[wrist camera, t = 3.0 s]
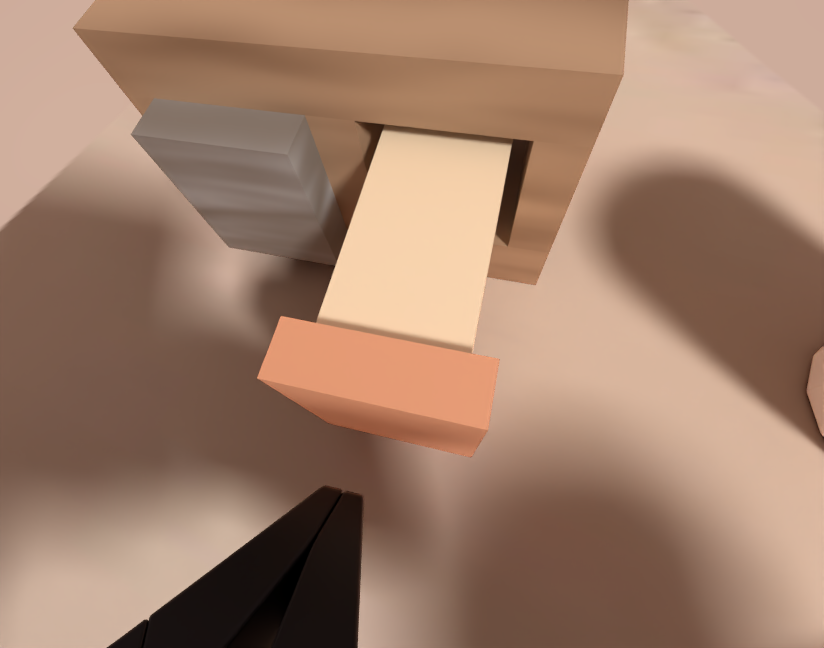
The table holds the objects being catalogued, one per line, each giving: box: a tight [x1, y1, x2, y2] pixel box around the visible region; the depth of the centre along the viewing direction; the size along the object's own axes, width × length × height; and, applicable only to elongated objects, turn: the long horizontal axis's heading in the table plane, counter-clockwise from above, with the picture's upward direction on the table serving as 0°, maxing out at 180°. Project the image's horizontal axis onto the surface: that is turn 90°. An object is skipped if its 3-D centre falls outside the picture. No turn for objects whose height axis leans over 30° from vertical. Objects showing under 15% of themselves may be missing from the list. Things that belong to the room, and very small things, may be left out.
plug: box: [257, 124, 513, 457], centre depth 13 cm, size 10×5×6 cm, turn 167°
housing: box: [73, 0, 629, 285], centre depth 15 cm, size 10×14×10 cm
